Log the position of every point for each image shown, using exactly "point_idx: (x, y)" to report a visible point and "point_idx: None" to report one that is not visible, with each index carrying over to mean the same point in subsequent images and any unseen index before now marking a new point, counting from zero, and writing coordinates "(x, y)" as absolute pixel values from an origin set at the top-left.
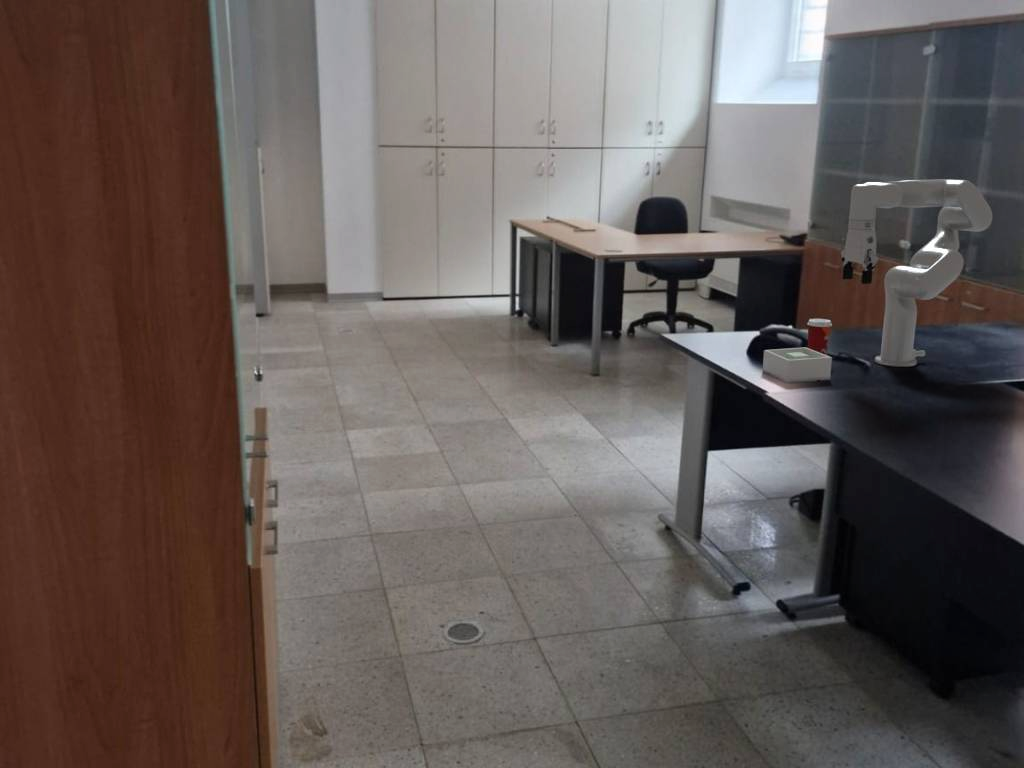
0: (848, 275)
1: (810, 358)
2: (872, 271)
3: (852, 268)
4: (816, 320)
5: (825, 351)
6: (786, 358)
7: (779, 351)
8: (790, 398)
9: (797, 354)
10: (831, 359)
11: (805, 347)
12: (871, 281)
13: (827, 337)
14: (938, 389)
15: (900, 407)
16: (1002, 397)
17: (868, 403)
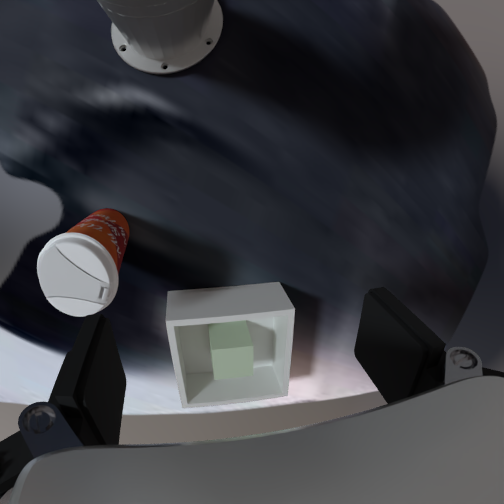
0: (111, 370)
1: (287, 355)
2: (439, 338)
3: (88, 390)
4: (71, 293)
5: (122, 230)
6: (269, 394)
7: (183, 380)
8: (353, 381)
9: (234, 363)
10: (293, 306)
11: (167, 322)
12: (388, 291)
13: (115, 243)
14: (409, 109)
15: (452, 253)
16: (463, 56)
17: (422, 288)
